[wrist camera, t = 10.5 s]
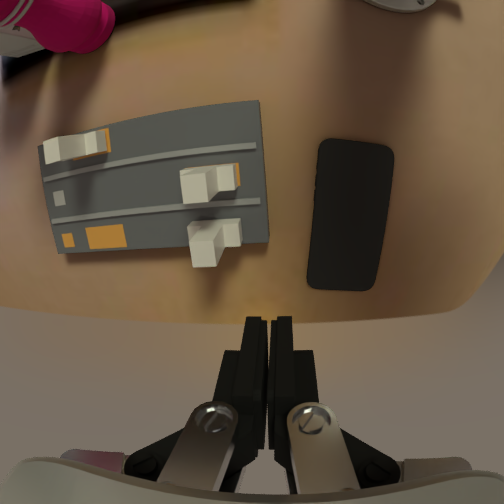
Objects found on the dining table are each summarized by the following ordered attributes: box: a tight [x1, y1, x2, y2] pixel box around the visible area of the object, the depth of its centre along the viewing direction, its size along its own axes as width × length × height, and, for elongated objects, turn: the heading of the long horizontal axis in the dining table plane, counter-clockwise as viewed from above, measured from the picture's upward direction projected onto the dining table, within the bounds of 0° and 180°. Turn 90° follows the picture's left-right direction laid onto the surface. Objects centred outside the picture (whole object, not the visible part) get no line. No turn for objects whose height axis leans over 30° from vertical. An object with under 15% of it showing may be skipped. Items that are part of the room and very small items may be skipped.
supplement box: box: [0, 25, 46, 57], centre depth 16 cm, size 7×7×13 cm
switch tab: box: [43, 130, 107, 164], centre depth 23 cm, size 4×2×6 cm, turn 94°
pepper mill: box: [0, 0, 115, 54], centre depth 13 cm, size 7×7×20 cm
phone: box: [307, 138, 394, 291], centre depth 29 cm, size 7×1×15 cm
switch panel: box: [38, 100, 270, 254], centre depth 28 cm, size 24×13×2 cm, turn 95°
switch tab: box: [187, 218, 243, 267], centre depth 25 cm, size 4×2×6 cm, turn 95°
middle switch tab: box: [180, 163, 238, 204], centre depth 23 cm, size 4×2×6 cm, turn 94°
